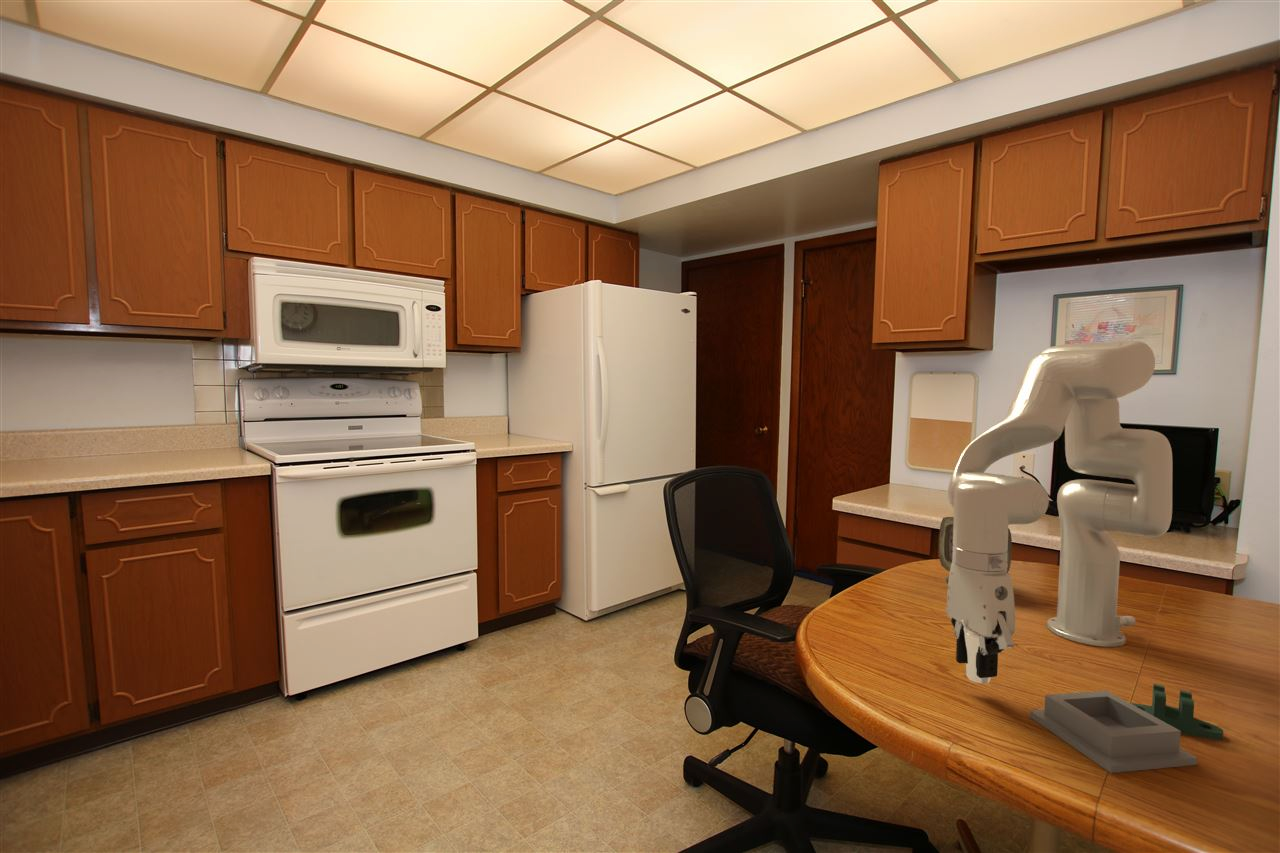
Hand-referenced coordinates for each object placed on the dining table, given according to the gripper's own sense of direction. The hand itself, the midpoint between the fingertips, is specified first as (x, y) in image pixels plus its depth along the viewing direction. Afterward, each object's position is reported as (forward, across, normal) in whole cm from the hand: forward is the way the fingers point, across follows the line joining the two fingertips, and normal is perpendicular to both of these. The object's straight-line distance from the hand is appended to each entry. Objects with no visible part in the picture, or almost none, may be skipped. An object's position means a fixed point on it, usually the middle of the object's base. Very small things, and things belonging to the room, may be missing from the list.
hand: (976, 667), depth 93 cm
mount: (+5, -11, -23) cm, 26 cm away
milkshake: (+2, 0, 0) cm, 2 cm away
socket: (+5, -13, -10) cm, 17 cm away
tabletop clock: (+6, +47, -36) cm, 59 cm away
